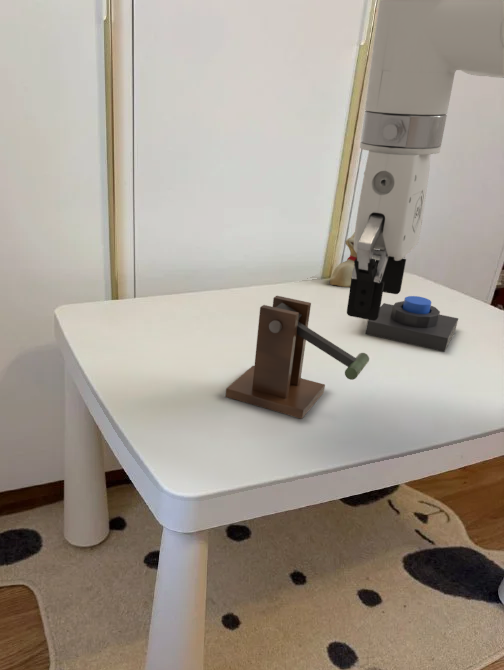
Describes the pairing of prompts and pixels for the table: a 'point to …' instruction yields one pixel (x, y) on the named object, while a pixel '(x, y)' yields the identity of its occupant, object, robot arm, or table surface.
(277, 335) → the lever bracket
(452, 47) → the robot arm
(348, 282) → the chocolate bunny
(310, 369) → the table surface
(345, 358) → the light lever
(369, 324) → the button block
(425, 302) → the blue button
